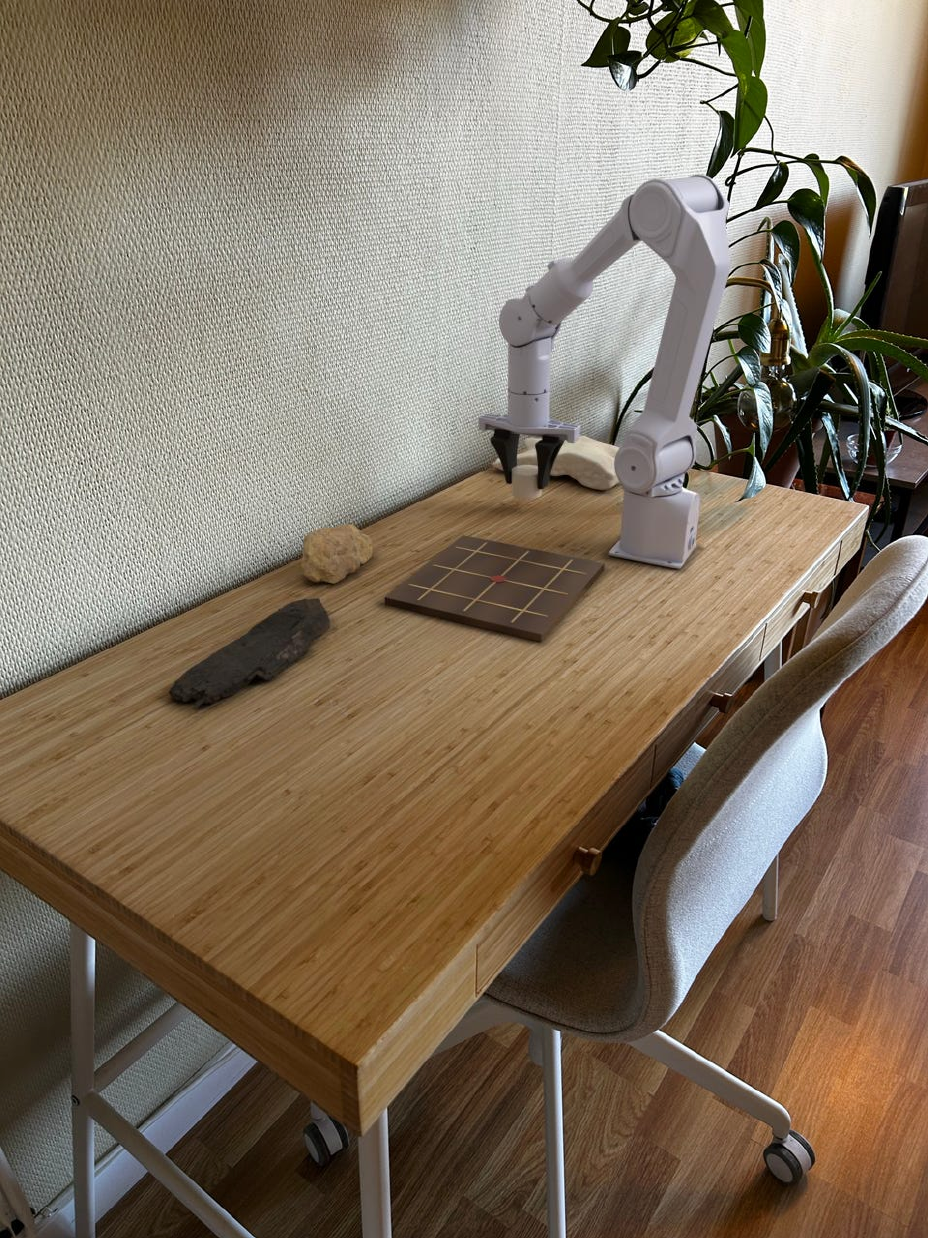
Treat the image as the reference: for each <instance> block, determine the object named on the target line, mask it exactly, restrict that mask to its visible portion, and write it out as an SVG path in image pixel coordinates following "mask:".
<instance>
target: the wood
mask: <svg viewBox="0 0 928 1238" xmlns="http://www.w3.org/2000/svg"><path fill="white" fill-rule="evenodd" d="M320 599H321V598H319V597H315V598H302V599H298V600H293V601H290V602H289V603H287V604H286V605H284V606H282V607H281V608H278V610H277V611H274V612H273V613H271V614H269V615H268V616H267V617H265V618H264V619H263V620H261V621H260V622H258V623H256V624H255V625H254V626H253V627H251V628H250V630H249V631H248V632H247V633H245V634H243V635H240V637H238V638H236V639H234V640H233V641H232V642H230V643H228V644H226V645H224V646H222V647H221V648H219V649H217V650H216V651H214V652H213V653H211V654H210V655H209V656H206V658H204V659H202V660H201V661H200V662H199V663H197V664H194V666H192V667H190V668H189V669H187V670H186V671H184V673H183V674H182V675H181V676H179V678H177V679H176V680H174V682H173V685H172V686H171V688H170V689H169V690H168V693H169V695H170V696H171V698H172V699H174V700H175V701H176V702H182V703H183V704H184V703H187V702H188V703H189V702H190V701H193V700H194V701H195V703H194V704H193V705H194V706H193V709H195V710H198V708H199V707H200V706H202V705H204V704H206V705H213V704H215V703H216V702H218V701H220V700H221V699H223V698H226V697H227V698H228V697H231V696H233V695H236V694H237V693H238V692H239V691H241V690H242V689H244V688H245V687H247V686H248V685H249V684H250V683H251V682H252V681H253V680H255V679H257V678H258V679H261V680H263V681H269V680H271V679H274V678H276V677H277V676H278V675H279V674H281V673H282V672H283V671H285V669H286V668H288V667H289V666H290V665H291V664H293V663H294V662H296V661H298V659H300V658H301V657H302V656H303V655H304V654H306V653H307V651H308V650H309V649H308V648H309V647H310V645H311V644H312V643H313V642H314V640H316V638H317V637H318V636H320V635H321V634H322V633H323V632H324V631H326V630H327V629H328V628H330V624H331V620H330V617H329V615H328V611H327V610H326V609H325V607H324V606H323V604H322V603H321V600H320Z"/></svg>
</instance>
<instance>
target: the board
mask: <svg viewBox="0 0 928 1238" xmlns="http://www.w3.org/2000/svg"><path fill="white" fill-rule="evenodd" d="M605 565H606V564H605V562H601V561H596V560H590V559H586V558H581V557H576V556H570V555H565V554H561V553H555V552H551V551H545V550H542V549H541V550H540V549H537V548H536V549H535V548H530V547H525V546H520V545H515V544H509V543H504V542H500V541H496V540H495V541H494V540H489V539H485V538H480V537H475V536H469V535H464V534H463V535H462V536H460V537H459V538H457V540H455V541H454V542H453V543H451V544H450V545H448V546H447V547H446V548H445V549H444V550H442V551H441V552H440V553H438V554H437V555H436V556H435V557H433V558H432V559H430V561H428V562H427V563H426V564H424V565H423V566H422V567H421V568H419V569H418V570H417V571H415V572H414V573H412V575H410V576H409V577H408V578H406V579H405V580H404V581H403V582H402V583H400V584H399V585H398V586H396V587H395V588H394V589H393V590H391V591H390V592H389V593H387V594H386V595H385V596H384V597H383V598H384V605H387V606H391V607H395V608H399V609H402V610H407V611H411V612H415V613H419V614H424V615H427V616H432V617H435V618H440V619H445V620H449V621H451V622H452V621H453V622H457V623H460V624H465V625H469V626H473V627H476V628H480V629H485V630H489V631H493V632H498V633H502V634H506V635H509V636H514V637H518V638H522V639H525V640H529V641H534V642H538V643H542V642H543V641H544V640H545V639H546V637H547V636H549V634H550V633H551V632H552V631H553V630H554V628H555V627H556V626H557V625H558V624H559V623H560V622H561V620H563V618H564V617H565V616H566V615H567V613H568V612H569V611H570V610H571V609H572V608H573V607H574V605H576V603H577V602H578V601H579V599H581V598H582V596H583V595H584V594H585V593H586V592H587V591H588V589H589V588H590V587H591V586H592V584H594V582H595V581H596V580H597V579H598V578H599V577H600V576H601V574H602V573H603V572H604V571H605Z"/></svg>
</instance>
